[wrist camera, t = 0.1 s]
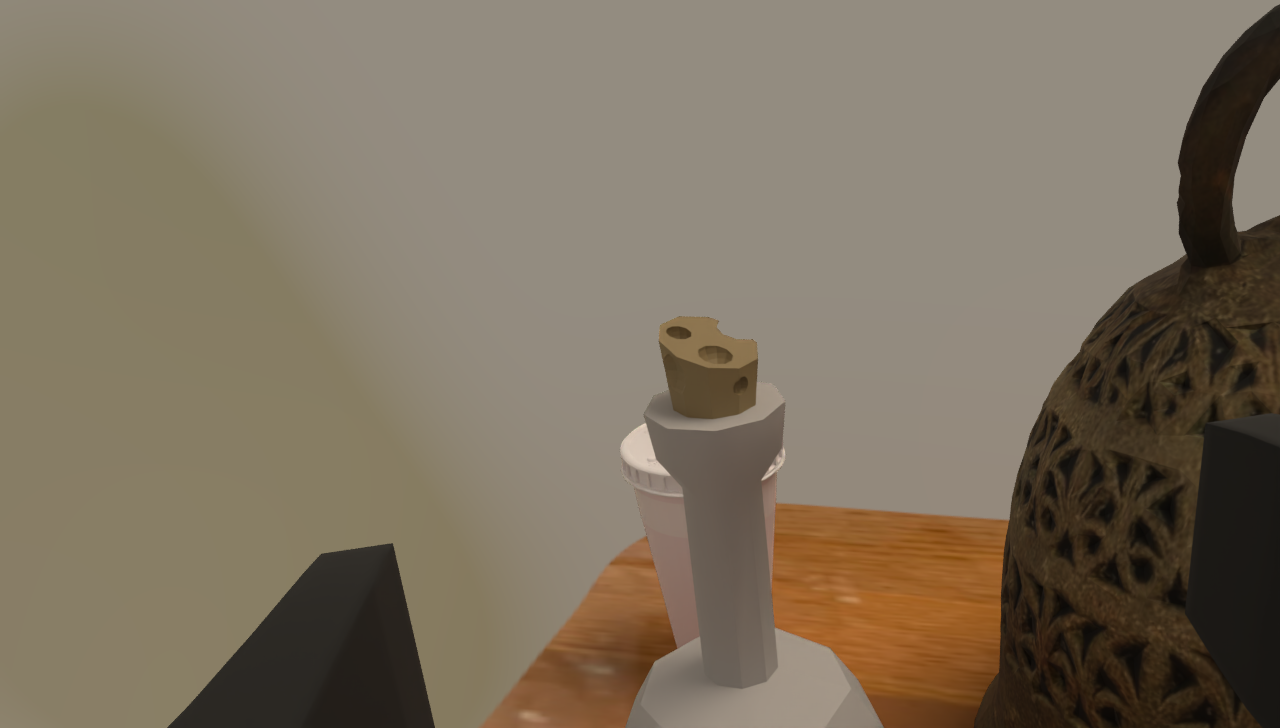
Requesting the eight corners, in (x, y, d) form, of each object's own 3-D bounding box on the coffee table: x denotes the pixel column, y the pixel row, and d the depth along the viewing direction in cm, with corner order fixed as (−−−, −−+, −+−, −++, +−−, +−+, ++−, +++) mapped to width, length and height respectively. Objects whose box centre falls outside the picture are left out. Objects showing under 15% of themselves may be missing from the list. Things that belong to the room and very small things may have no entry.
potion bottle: (735, 744, 41) (682, 268, 35) (960, 848, 35) (943, 297, 29) (563, 897, 35) (466, 357, 29) (798, 1054, 29) (736, 416, 23)
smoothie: (806, 609, 49) (781, 301, 44) (797, 701, 43) (767, 357, 38) (661, 609, 50) (622, 310, 45) (633, 698, 44) (585, 366, 39)
